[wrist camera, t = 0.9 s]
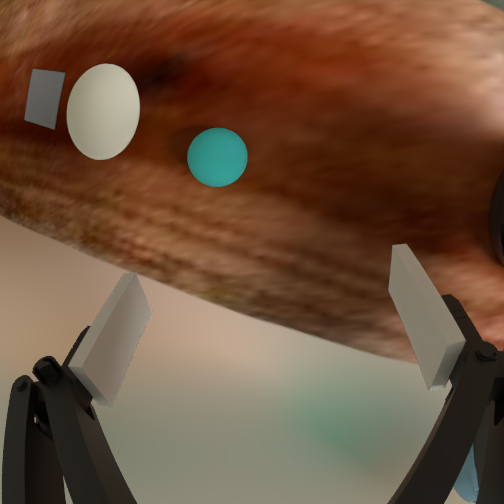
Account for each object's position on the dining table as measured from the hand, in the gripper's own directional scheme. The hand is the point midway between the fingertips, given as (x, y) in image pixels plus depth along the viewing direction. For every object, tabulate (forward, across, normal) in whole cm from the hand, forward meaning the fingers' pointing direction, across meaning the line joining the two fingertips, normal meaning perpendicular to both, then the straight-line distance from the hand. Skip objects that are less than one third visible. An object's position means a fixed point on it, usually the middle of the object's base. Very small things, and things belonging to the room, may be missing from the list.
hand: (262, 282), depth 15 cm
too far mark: (+24, +29, -16) cm, 41 cm away
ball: (+16, +4, -3) cm, 16 cm away
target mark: (+22, +18, -11) cm, 30 cm away
